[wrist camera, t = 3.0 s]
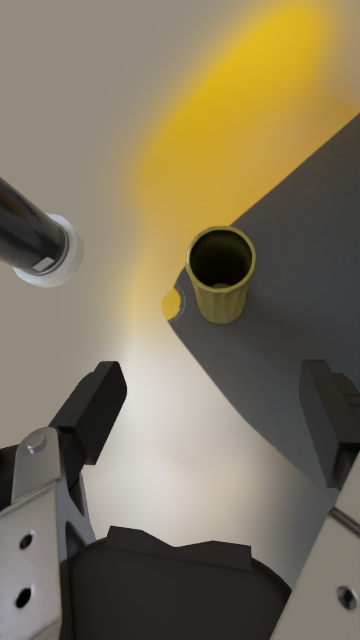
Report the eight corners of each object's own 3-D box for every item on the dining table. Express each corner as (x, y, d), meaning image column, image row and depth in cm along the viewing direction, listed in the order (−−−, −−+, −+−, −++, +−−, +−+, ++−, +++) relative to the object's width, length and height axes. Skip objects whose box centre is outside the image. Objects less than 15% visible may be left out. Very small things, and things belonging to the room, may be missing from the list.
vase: (216, 269, 33) (212, 205, 19) (255, 295, 32) (281, 247, 18) (188, 305, 33) (163, 267, 19) (225, 333, 32) (228, 315, 18)
